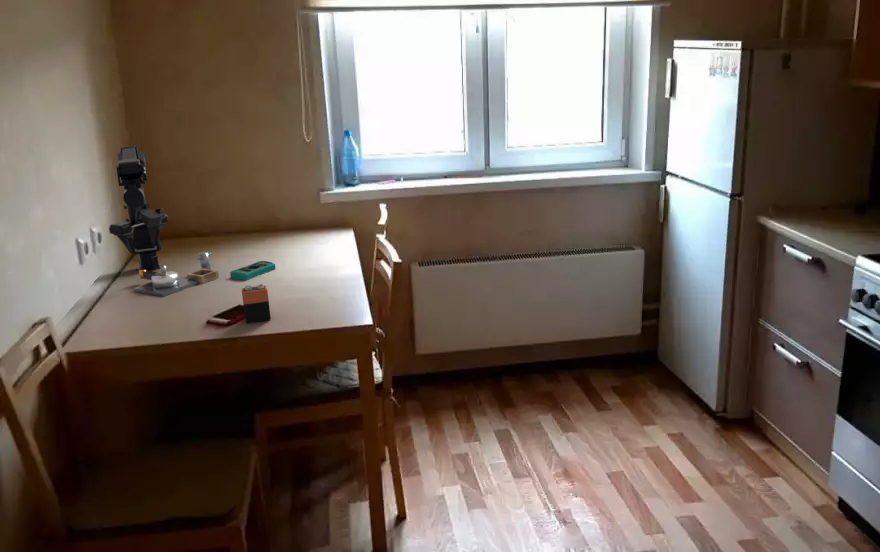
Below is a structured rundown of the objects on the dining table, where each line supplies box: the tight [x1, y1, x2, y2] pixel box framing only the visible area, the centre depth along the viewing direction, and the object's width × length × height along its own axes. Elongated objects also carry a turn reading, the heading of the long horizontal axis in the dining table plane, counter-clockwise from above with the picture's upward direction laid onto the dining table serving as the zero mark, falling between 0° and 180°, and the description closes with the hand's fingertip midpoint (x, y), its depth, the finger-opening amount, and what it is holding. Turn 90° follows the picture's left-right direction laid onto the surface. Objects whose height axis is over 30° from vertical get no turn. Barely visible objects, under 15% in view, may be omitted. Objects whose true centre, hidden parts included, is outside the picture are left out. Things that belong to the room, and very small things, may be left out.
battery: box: [241, 284, 272, 324], centre depth 215 cm, size 4×7×10 cm, turn 106°
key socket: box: [186, 268, 220, 285], centre depth 256 cm, size 7×7×2 cm
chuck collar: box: [138, 264, 179, 288], centre depth 251 cm, size 16×8×6 cm, turn 59°
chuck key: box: [196, 251, 212, 270], centre depth 263 cm, size 3×6×7 cm, turn 149°
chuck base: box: [133, 277, 199, 297], centre depth 250 cm, size 14×14×1 cm
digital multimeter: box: [229, 260, 276, 281], centre depth 261 cm, size 7×15×3 cm, turn 148°
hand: (143, 249), depth 248 cm, fingers open, 9 cm apart
